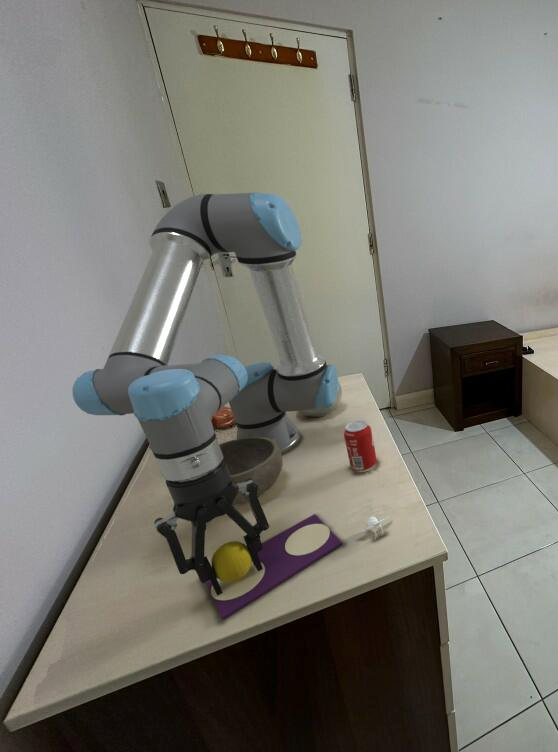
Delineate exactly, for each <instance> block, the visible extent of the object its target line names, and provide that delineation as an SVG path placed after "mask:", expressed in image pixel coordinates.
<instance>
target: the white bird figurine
mask: <svg viewBox="0 0 558 752" xmlns="http://www.w3.org/2000/svg"><path fill="white" fill-rule="evenodd" d="M389 517H390V515H388V516H387V517H384V518H382V519H380V520H378V519H377V518H376V517H375V516H370V517H368V518H367V519H366V521H365V526H366V527H365V528H363V529H362V530H360V531H358V532H356V533H354V534H353V535H357V534H362V533H363V532H365V531H370V532H372V533H374V540H376V539H378V538H379V536H378V534H377V532H378V531H379V530H380V529H381V537H382V536H384V535H385V532H384V529H383V527H382V523H383V522H385V521H386V520H387V519H389Z"/></svg>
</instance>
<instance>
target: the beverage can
mask: <svg viewBox="0 0 558 752" xmlns="http://www.w3.org/2000/svg"><path fill="white" fill-rule="evenodd" d="M372 432H373V431H372V427H371V426H370V424H368V422H367V421H365V420H355V421H351V422H350V423H347V424H346V425H345V430H344V432H343V437H344V443H345V446H346V447H345V448H346V452H347V457H348V461H349V465H350V469H351V470H353V471H354V472H357V473H366V472H368V471H371V470H373V468H374V467H375V465H376V464H377V462H378V460H377V454H376V453H377V452H376V449H375V448H376V447H375V443H374V436H373V433H372Z"/></svg>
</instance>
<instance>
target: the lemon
mask: <svg viewBox="0 0 558 752" xmlns="http://www.w3.org/2000/svg"><path fill="white" fill-rule="evenodd" d="M251 563H252V557H251V553H250V550H249V549H248V548H247V546H246V543H243V542H241V541H239V540H231V541H227V542H225V543H223V544H221V545H220V546H218V547H217V548H216V550H215V551H214V552H213V555H212V558H211V566H212V569H213V571H214V574H215V576H216V577H217V578H218V579H219V580H221V581H223V582H234V581H237V580H239V579H241V578H242V577H243V576H245V575H246V573H247V572H248V571H249V569H250V567H251Z"/></svg>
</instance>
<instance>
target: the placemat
mask: <svg viewBox="0 0 558 752" xmlns="http://www.w3.org/2000/svg"><path fill="white" fill-rule="evenodd" d="M261 543H262V546H263V550H261V551H259V552H258V553H257V554H258V557H259V559H260V562H261V565H262V568H263V569H262V570H260V571H259V572H258V570H257V569H256V567H255V566H254V564H253V562H252V563H251V567H250V569H249V571H248V572H247V573H246V575H245V576H243V577H242V578H241V579H239V580H237V581H234V582H223V581H221V580H219V579H218V578H217V577H216V578H217V581H218V583H219V585H220V588H221V590H222V592H223V593H222V594H220V595H218V596H217V594H216V592H215V590H214V588H213V586H212V583H211V581H210V580H208V581H206V582H205V584H206V586H207V588H208V590H209V593H210V595H211V596H212V598H213V601H214V603H215V606H216V607H217V610H218V611H219V613H220V615H221V617H222V619H223V621H224V620H225V619H227V618H229V617H230V616H232V615H234V614H235V613H237V612H238V611H240V610H241V609H243V608H245V607H247V606H248V605H250V604H252V602H255V601H256V600H258V599H259V598H261V597H262V596H264V595H265V594H267V593H268V592H271V591H272V590H273V589H275V588H276V587H277V586H279V585H281V584H283V583H284V582H286V581H288V580H289V579H290V578H292V577H294V576H295V575H297V574H299V573H300V572H302V571H303V570H305V569H306V568H308V567H309V566H311V565H313V564H314V563H316V562H318V561H319V560H320V559H323V558H324V557H325V556H327V555H329V554H330V553H332V552H333V551H335V550H336V549H338V548H339V547H341V546H342V545H343V542H342V541H341V540H340V538H339V537H338V536H336V534H335V533H334V532H333V531H332V530H331V529H330V527H328V526H327V525H326V524H325V523H324V522H323V521H322V520H321V518H319V517H318V516H317V515H316V514H312V515H311V516H308V517H307V518H305V519H303V520H301V521H299V522H298V523H295V524H294V525H292V526H290V527H289V528H287V529H285V530H283V531H282V532H281V531H280V532H279V533H278V534H276V535H274V536H272V537H270V538H269V539H267V540H265V541H264V542H261Z"/></svg>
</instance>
